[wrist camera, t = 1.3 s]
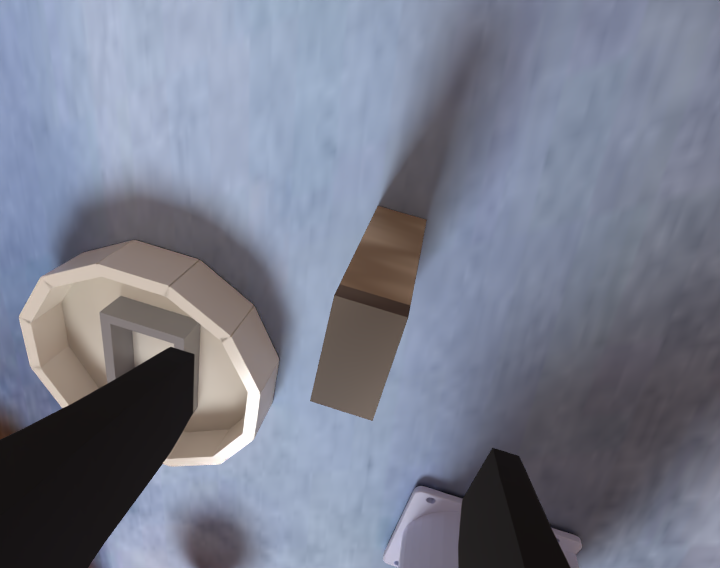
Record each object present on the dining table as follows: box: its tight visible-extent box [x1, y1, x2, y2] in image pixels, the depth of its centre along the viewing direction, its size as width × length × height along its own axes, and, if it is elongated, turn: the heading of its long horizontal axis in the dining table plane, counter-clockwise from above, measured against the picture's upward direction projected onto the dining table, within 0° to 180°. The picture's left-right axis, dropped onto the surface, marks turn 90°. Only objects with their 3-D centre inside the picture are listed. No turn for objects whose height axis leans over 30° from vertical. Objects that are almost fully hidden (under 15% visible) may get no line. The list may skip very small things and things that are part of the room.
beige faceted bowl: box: [19, 240, 279, 467], centre depth 23 cm, size 12×12×2 cm
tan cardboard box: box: [310, 206, 427, 421], centre depth 16 cm, size 2×4×7 cm, turn 168°
